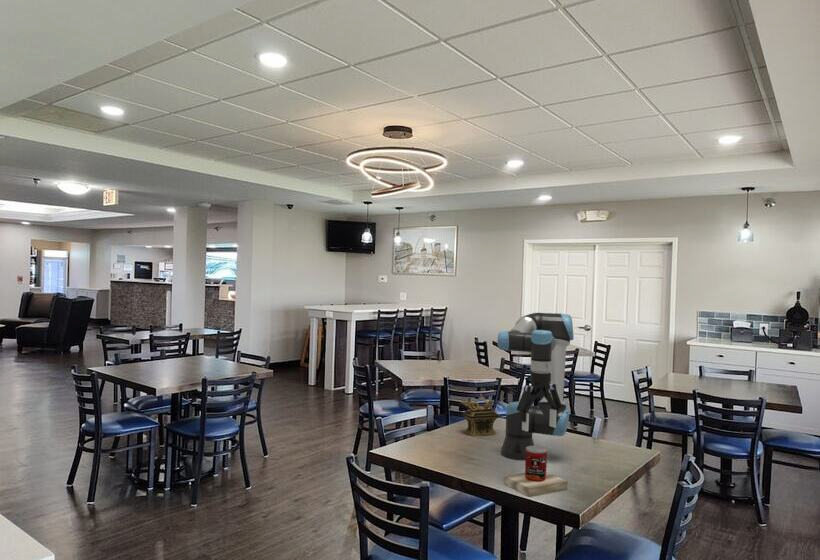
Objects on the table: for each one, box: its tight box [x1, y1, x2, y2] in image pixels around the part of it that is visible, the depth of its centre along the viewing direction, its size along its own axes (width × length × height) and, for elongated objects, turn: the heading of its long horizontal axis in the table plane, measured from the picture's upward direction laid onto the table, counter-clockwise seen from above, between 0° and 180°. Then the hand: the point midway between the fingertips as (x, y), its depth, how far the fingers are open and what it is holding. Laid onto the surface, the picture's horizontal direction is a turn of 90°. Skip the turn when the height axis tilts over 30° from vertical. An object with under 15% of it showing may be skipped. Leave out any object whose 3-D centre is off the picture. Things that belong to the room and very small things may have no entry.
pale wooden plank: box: [503, 471, 568, 498], centre depth 206 cm, size 14×18×3 cm
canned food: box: [524, 445, 548, 482], centre depth 206 cm, size 8×8×11 cm
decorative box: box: [460, 393, 500, 437], centre depth 281 cm, size 20×10×20 cm, turn 111°
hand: (539, 428), depth 208 cm, fingers open, 13 cm apart
